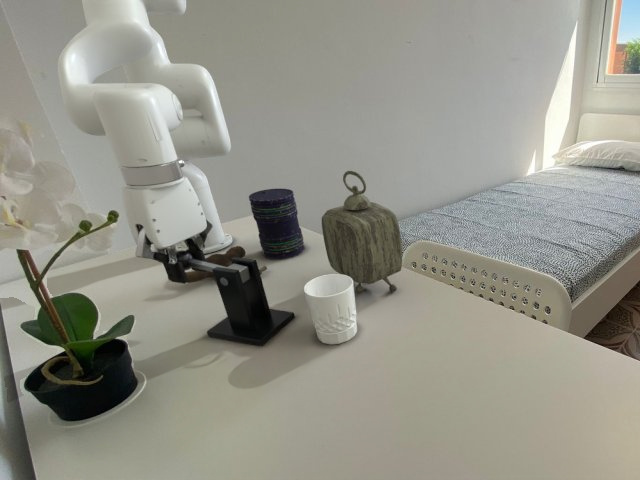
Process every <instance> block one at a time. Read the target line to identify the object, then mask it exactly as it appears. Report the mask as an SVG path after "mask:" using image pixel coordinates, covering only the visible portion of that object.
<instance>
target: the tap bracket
mask: <svg viewBox="0 0 640 480" xmlns="http://www.w3.org/2000/svg"><path fill="white" fill-rule="evenodd" d="M231 262H232V264H239V265H243V266H247V267H248V270H249V275H250V279H249V280H247V281H245V282H244V283H243V282H242V279H241V275H240V272H239V270H236V269H228V268H221V267H216V268H214V269H212V271H213V274H214V280H215V283H216V287H217V288H218V292H219V295H220V298H221V301H222V304H223V307H224V310H225V314H226V317H225V318H223V319H222V320H221V321H219V322H218V323H216V324H215V325H213V326H212V327H211V328H209V329H208V330H206V334H207V336H208V338H212V339H213V338H214V339H220V340H224V341H231V342H236V343H241V344H247V345H253V346H257V347H258V346H259V347H263V346H264V345H265V344H267V343H268V342H269V341H270V340H271V339H273V337H275V336H276V335H277V334H278V333H279V332H281V331H282V330H283V329H285V328H286V326H288V325H289V324H290V323H291V322H292V321H293V320H294V319H295V318H296V316H295V312H293V311H286V310H280V309H274V308H270V305H269V302H268V298H267V294H266V291H265V287H264V283H263V280H262V275H260V272H259V269H260V268H259V265H258V261H257V259H254V258H246V257H243V258H239V257H234V258H232V259H231Z"/></svg>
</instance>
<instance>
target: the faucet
mask: <svg viewBox="0 0 640 480" xmlns="http://www.w3.org/2000/svg"><path fill="white" fill-rule="evenodd" d="M245 256H246V250H245V248H244V247H242V246H241V245H236V246H231V247H229V248H228V250H227V251H226V252H225V253H214V254H211V255H209V256H207V257H205V259H206V262H208V263H212V264H216V265H220V266H224V267H228V266H230V265H232V262H231V259H232V258H234V257H239V258H245ZM267 270H268V266H266V265H263V266H262V267H260V268H259V272H260V276H262V275H263V272H265V271H267ZM185 273H186V276H187V278H188V282H187V283H186V284H189V283H190V284H191V283H196V282H201V281H203V280H206V279H215V277H214V274H213V272H210V271H207V272H202V271H195V270H191V271H187V272H186V271H185ZM167 279H168V280H169V281H170V282H172V281H171V280H170V279H169V277H168V276H167Z"/></svg>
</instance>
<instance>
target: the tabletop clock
mask: <svg viewBox="0 0 640 480" xmlns="http://www.w3.org/2000/svg"><path fill="white" fill-rule="evenodd" d="M348 175H351V176H355V177H356V178H358V179H359V180H360V182H361V184H362V186H363V189H362V190H359V187H358V186H357V185H352V187H351V186H350V185H349V184H348V183H347V179H346V178H347V176H348ZM342 182H343V184H344V186H345V188H346V189H347V190H348V191H349V192H351V193H352V194H350V195H348V196H347V197H346V198H345V200H344V201H343V205H340V206H337V207H333V208H330V209H327V210H326V211H325V213H324V214H323V215H322V216H321V229H322V236H323V242H324V246H325V247H324V248H325V252H326V256H327V259H328V263H329V265H330V267H331V268H332V269H333V271H334V272H336V274H343V275H347V276H349V277H351V278H352V280H353V283H357V285H356V286H355V287H354V290H355V292H357V293H362V292H363V291H364V286H363V285H362V284H364V285H373V284H375V283H377V282H379V281H381V280H383V281H384V282H385V283H386V284H387V285H388V286H389V287H388V289H389V291H390V292H396V291H397V290H398V286H397V285H396V284H395V283H391V281H390V280H389V278H388V277H390V276H392V275H395V274H397V273H400V272H401V271H402V268H403V244H402V243H403V242H402V237H401V231H400V230H401V229H400V226H399V222H398V218H397V216H396V213H394V212H393V211H392V210H391V209H389V208H387V207H385V206H383V205H381V204H378V203H376V202H373V201H370V199H369V198H368V197H367V196H366V195H364V194H365V193H366V191H367V184H366V181H365V179H364V177H363V176H362V175H361V174H359V172H356V171H353V170H347V171H345V172H344V174H343V175H342Z"/></svg>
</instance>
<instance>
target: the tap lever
mask: <svg viewBox="0 0 640 480" xmlns="http://www.w3.org/2000/svg"><path fill="white" fill-rule="evenodd" d="M175 252H176V257H177V261H178V262H181V263H182V265H183V267H184V270H185V272H186V271H189V270H192V267H194V268H198V269H202V270H206V271H210V272H213V271H212V269H214V268H216V267H221V268H228V269H236V270H239V272H240V275H241V279H242V282H243V283H244V282H245V281H247V280H249V279H250V275H249V270H248V267H247V266H243V265H239V264H232V265H230V266H228V267H224V266H220V265H216V264H212V263H208V262H203V261H199V260H195V258H194V256H193V254H191V253H190V252H188V251H184V250H180V251H176V250H175Z"/></svg>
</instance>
